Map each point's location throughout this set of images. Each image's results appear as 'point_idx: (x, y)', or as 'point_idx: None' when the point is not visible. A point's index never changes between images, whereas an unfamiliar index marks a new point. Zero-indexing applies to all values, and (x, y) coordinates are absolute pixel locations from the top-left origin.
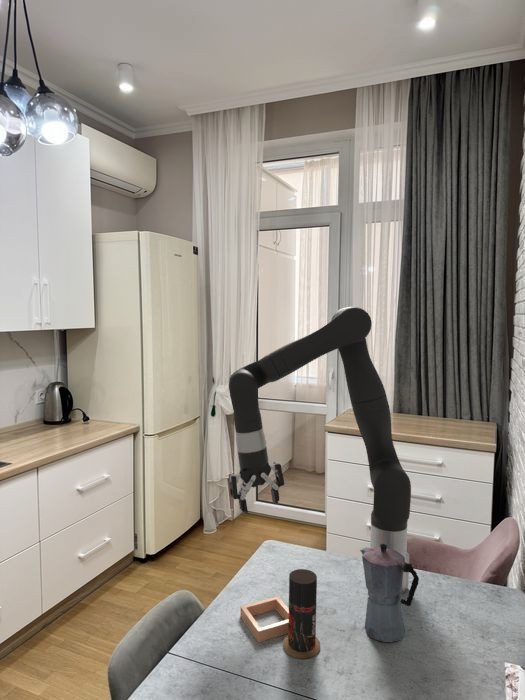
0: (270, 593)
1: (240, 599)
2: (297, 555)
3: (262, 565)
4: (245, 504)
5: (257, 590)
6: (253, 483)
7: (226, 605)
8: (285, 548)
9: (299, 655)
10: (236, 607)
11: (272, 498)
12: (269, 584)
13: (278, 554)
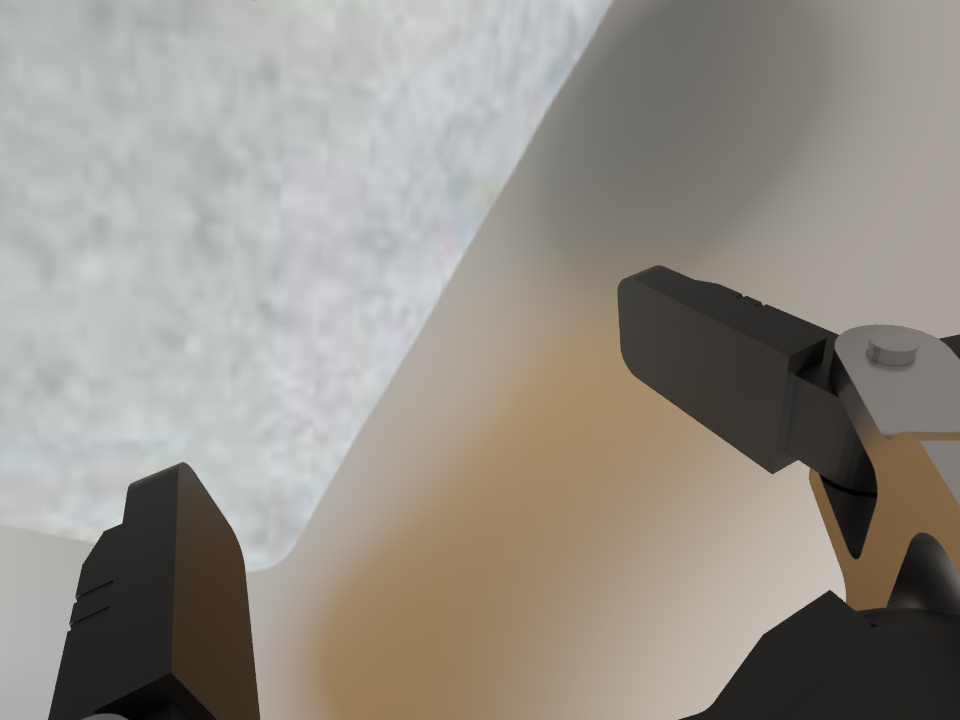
0: (291, 137)
1: (451, 103)
2: (129, 476)
3: (322, 388)
4: (733, 311)
5: (360, 174)
6: (942, 716)
7: (521, 61)
8: None
9: None
10: (477, 32)
11: (238, 583)
12: (293, 223)
13: (236, 479)
